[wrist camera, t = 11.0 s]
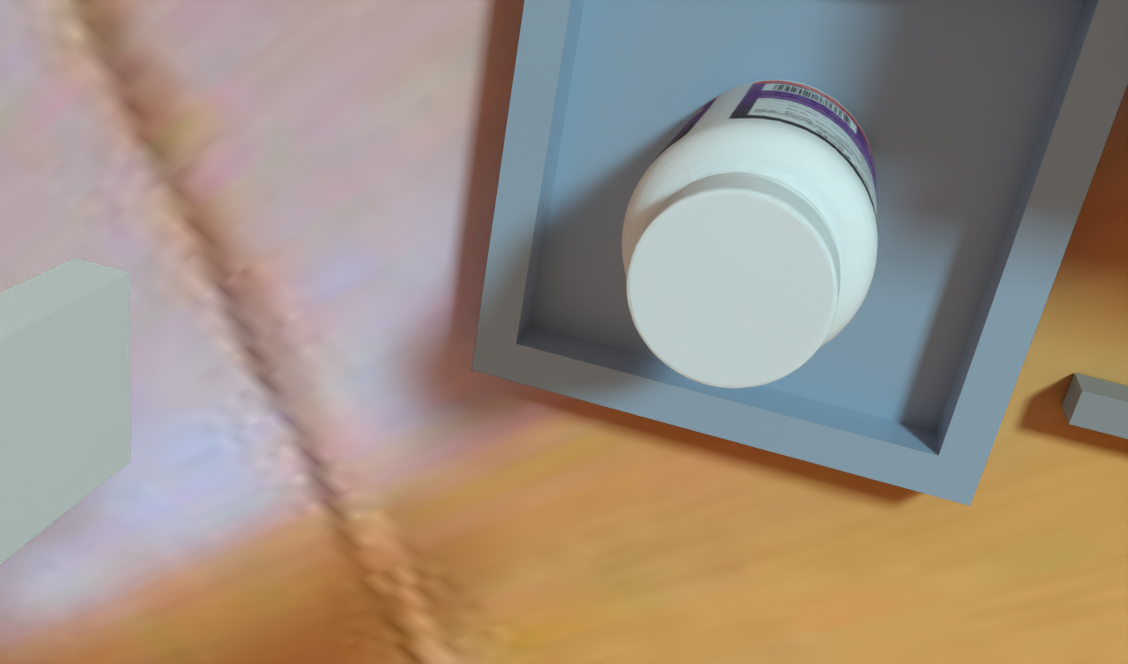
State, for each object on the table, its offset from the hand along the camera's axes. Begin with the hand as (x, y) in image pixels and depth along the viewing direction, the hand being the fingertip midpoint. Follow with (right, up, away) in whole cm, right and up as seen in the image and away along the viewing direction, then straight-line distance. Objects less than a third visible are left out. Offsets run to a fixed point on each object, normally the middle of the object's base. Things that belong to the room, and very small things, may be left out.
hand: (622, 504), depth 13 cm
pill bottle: (+5, +6, +16) cm, 18 cm away
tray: (+5, +6, +17) cm, 19 cm away
